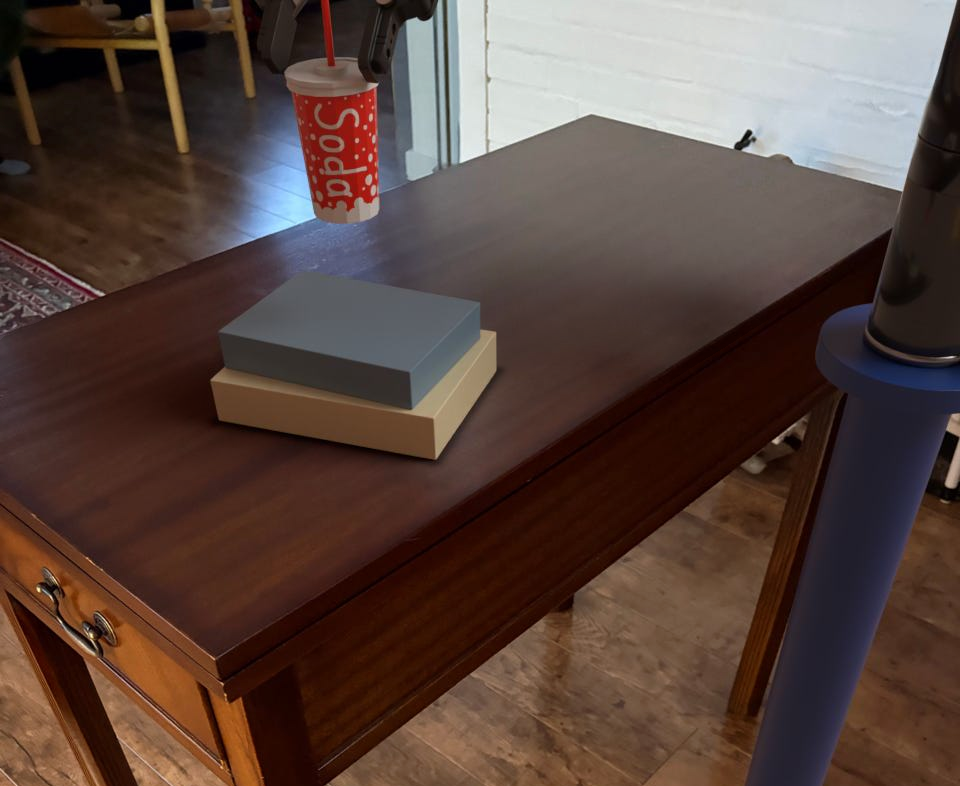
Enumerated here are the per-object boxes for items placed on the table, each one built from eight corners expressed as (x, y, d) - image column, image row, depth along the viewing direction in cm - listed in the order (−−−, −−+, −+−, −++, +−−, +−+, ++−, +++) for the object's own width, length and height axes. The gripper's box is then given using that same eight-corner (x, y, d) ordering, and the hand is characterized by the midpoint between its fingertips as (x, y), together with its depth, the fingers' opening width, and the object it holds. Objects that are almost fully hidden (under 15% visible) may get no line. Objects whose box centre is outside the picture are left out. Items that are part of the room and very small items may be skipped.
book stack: (496, 371, 83) (496, 295, 78) (436, 460, 73) (432, 379, 69) (300, 340, 87) (289, 266, 83) (218, 420, 78) (201, 342, 73)
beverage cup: (289, 223, 70) (255, -14, 60) (322, 192, 74) (295, -34, 64) (372, 231, 68) (351, -10, 59) (401, 199, 73) (386, -31, 63)
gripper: (249, -242, 62) (189, 26, 62) (471, -242, 58) (406, 42, 58) (300, -143, 69) (246, 97, 69) (499, -138, 65) (442, 115, 65)
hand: (320, 70), depth 63 cm, fingers closed on beverage cup, 6 cm apart
